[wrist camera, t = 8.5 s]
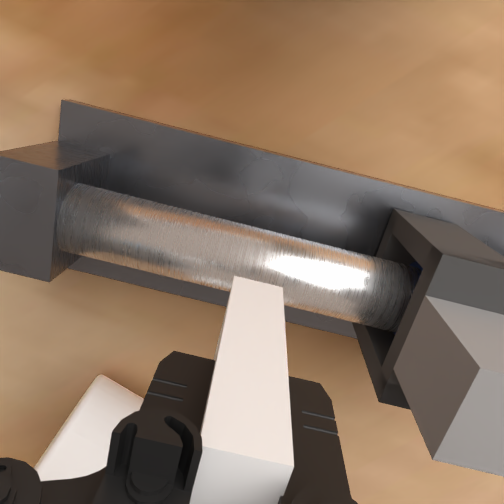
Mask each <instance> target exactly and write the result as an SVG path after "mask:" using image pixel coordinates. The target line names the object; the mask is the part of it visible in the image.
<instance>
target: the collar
mask: <svg viewBox="0 0 504 504" xmlns="http://www.w3.org/2000/svg"><path fill="white" fill-rule="evenodd" d="M376 257H377V258H381V259H385V260H389V261H393V262H397V263H401V264H405V265H410V264H411V263H413V262H418V263H419V265H420V266H421V267H422V268H423V270H422V273H421V275H420V277H419V280H418V282H417V284H416V287H415V289H414V292H413V294H412V296H411V299H410V301H409V303H408V306H407V308H406V311H405V313H404V315H403V318H402V320H401V322H400V325H399V327H398V329H397V332H396V334H395V335H394V333H393V332H392V331H388V330H383V329H379V328H375V327H371V326H367V325H363V324H359V323H355V322H352V324H353V327H354V330H355V333H356V336H357V339H358V342H359V345H360V348H361V351H362V354H363V356H364V359H365V362H366V365H367V368H368V371H369V374H370V377H371V380H372V383H373V386H374V389H375V392H376V395H377V398H378V401H379V402H381V403H385V404H389V405H393V406H398V407H402V408H406V409H410V410H411V411H412V413H413V416H414V418H415V420H416V423H417V425H418V427H419V430H420V432H421V434H422V437H423V439H424V441H425V443H426V446H427V448H428V450H429V453H430V455H431V457H432V460H436V461H440V462H444V463H448V464H453V465H457V466H461V467H465V468H470V469H474V470H478V471H482V472H486V473H491V474H495V475H499V476H503V477H504V257H503V256H502V255H500V254H499V253H497V252H496V251H494V250H493V249H492V248H490V247H489V246H487V245H486V244H484V243H483V242H481V241H480V240H479V239H477V238H476V237H474V236H473V235H471V234H470V233H468V232H467V231H466V230H464V229H463V228H461V227H460V226H458V225H457V224H453V223H449V222H445V221H441V220H437V219H433V218H429V217H425V216H421V215H417V214H413V213H409V212H406V211H402V210H398V209H393V212H392V214H391V217H390V220H389V222H388V225H387V228H386V230H385V233H384V236H383V238H382V241H381V244H380V246H379V249H378V252H377V254H376Z"/></svg>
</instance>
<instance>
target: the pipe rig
mask: <svg viewBox="0 0 504 504" xmlns="http://www.w3.org/2000/svg"><path fill="white" fill-rule="evenodd" d="M393 209H398V210H402V211H406V212H409V213H413V214H417V215H421V216H425V217H429V218H433V219H437V220H441V221H445V222H449V223H453V224H457V225H458V226H460V227H461V228H463V229H464V230H466V231H467V232H468V233H470V234H471V235H473V236H474V237H476V238H477V239H479V240H480V241H481V242H483V243H484V244H486V245H487V246H489V247H490V248H492V249H493V250H494V251H496V252H497V253H499V254H500V255H502V256H503V257H504V211H503V210H499V209H495V208H491V207H487V206H483V205H479V204H475V203H471V202H467V201H464V200H460V199H456V198H452V197H448V196H444V195H440V194H436V193H432V192H428V191H425V190H421V189H417V188H413V187H409V186H405V185H401V184H397V183H393V182H389V181H385V180H382V179H378V178H374V177H370V176H366V175H362V174H358V173H354V172H350V171H346V170H342V169H339V168H335V167H331V166H327V165H323V164H319V163H315V162H311V161H307V160H303V159H300V158H296V157H292V156H288V155H284V154H280V153H276V152H272V151H268V150H264V149H260V148H257V147H253V146H249V145H245V144H241V143H237V142H233V141H229V140H225V139H221V138H217V137H214V136H210V135H206V134H202V133H198V132H194V131H190V130H186V129H182V128H178V127H175V126H171V125H167V124H163V123H159V122H155V121H151V120H147V119H143V118H139V117H135V116H132V115H128V114H124V113H120V112H116V111H112V110H108V109H104V108H100V107H96V106H92V105H89V104H85V103H81V102H77V101H73V100H61V113H60V126H59V139H58V141H54V142H49V143H43V144H38V145H32V146H27V147H22V148H16V149H11V150H5V151H0V270H1V271H5V272H9V273H14V274H18V275H22V276H26V277H30V278H34V279H38V280H42V281H47V282H51V281H52V280H53V279H54V278H56V277H57V276H58V275H59V274H61V273H62V272H63V271H64V270H66V269H67V268H69V269H73V270H78V271H82V272H86V273H90V274H94V275H98V276H102V277H106V278H110V279H114V280H119V281H123V282H127V283H131V284H135V285H139V286H143V287H147V288H151V289H155V290H159V291H164V292H168V293H172V294H176V295H180V296H184V297H188V298H192V299H196V300H200V301H205V302H209V303H213V304H217V305H221V306H225V307H227V303H228V299H229V295H230V291H231V287H232V283H233V279H234V276H238V277H242V278H246V279H250V280H254V281H258V282H262V283H267V284H271V285H275V286H279V287H283V300H284V316H285V321H287V322H291V323H295V324H299V325H303V326H307V327H311V328H315V329H319V330H323V331H327V332H332V333H336V334H340V335H344V336H348V337H352V338H356V339H357V336H356V333H355V330H354V327H353V324H352V322H355V323H359V324H363V325H367V326H371V327H375V328H379V329H383V330H388V331H392V332H393V333H394V335H395V334H396V332H397V329H398V327H399V325H400V322H401V320H402V318H403V315H404V313H405V311H406V308H407V306H408V303H409V301H410V299H411V296H412V294H413V292H414V289H415V287H416V284H417V282H418V280H419V277H420V275H421V273H422V270H423V268H422V267H421V266H420V265H419V263H418V262H413V263H411V264H410V265H405V264H401V263H397V262H393V261H389V260H385V259H381V258H377V257H376V254H377V252H378V249H379V246H380V244H381V241H382V238H383V236H384V233H385V230H386V228H387V225H388V222H389V220H390V217H391V214H392V212H393Z"/></svg>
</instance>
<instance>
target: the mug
mask: <svg viewBox="0 0 504 504" xmlns="http://www.w3.org/2000/svg"><path fill="white" fill-rule="evenodd" d="M143 400H144V399H143V398H142V397H140V396H138V395H137V394H135V393H133V392H132V391H130V390H128V389H127V388H125V387H123V386H121V385H120V384H118V383H116V382H115V381H113V380H111V379H110V378H108V377H106V376H105V375H98V376H97V377H96V378H95V379H94V381H93V382H92V383H91V385H90V386H89V388H88V389H87V390H86V392H85V393H84V395H83V396H82V398H81V399H80V400H79V402H78V403H77V405H76V406H75V408H74V409H73V411H72V412H71V414H70V415H69V416H68V418H67V419H66V421H65V422H64V424H63V425H62V427H61V428H60V430H59V431H58V433H57V434H56V436H55V437H54V438H53V440H52V441H51V443H50V444H49V446H48V447H47V449H46V450H45V452H44V453H43V455H42V456H41V458H40V459H39V461H38V462H37V464H36V465H35V467H34V468H33V469H35V470H36V471H37V472H38V475H39V478H40V480H41V481H49V480H61V479H72V478H78V477H83V476H87V475H90V474H92V473H95V472H97V471H99V470H101V469H103V468H104V467H106V465H107V459H108V453H109V446H110V440H111V434H112V431H113V429H114V428H115V427H116V426H117V424H118V423H119V422H120V421H121V419H123V418H125V417H127V416H128V415H130V414H132V413H134V412H135V411H139V410H140V407H141V405H142V403H143Z"/></svg>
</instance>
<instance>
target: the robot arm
mask: <svg viewBox="0 0 504 504" xmlns="http://www.w3.org/2000/svg"><path fill="white" fill-rule="evenodd" d="M334 419H335V416H334V411H333V406H332V401H331V399H330V397H329V396H328V394H327V393H326V392H325V390H324V389H323V387H322V386H321V384H320V383H316V382H312V381H308V380H303V379H299V378H295V377H290V376H288V363H287V347H286V331H285V316H284V300H283V287H279V286H275V285H271V284H267V283H262V282H258V281H254V280H250V279H246V278H242V277H238V276H234V279H233V283H232V287H231V291H230V295H229V299H228V303H227V307H226V311H225V315H224V319H223V323H222V327H221V331H220V335H219V339H218V343H217V347H216V351H215V355H214V360H211V359H207V358H202V357H198V356H194V355H189V354H185V353H181V352H177V351H173V352H172V353H171V354H170V355H168V356H167V357H166V358H164V359H163V360H162V361H160V363H159V365H158V368H157V370H156V372H155V375H154V377H153V380H152V382H151V384H150V386H149V389H148V391H147V394H146V396H145V398H144V400H143V403H142V405H141V407H140V410H139V411H135V412H134V413H132V414H130V415H128V416H127V417H125V418H123V419H121V421H120V422H119V423H118V424H117V426H116V427H115V428H114V429H113V431H112V434H111V440H110V446H109V453H108V459H107V465H106V467H104V468H103V469H101V470H99V471H97V472H95V473H92V474H90V475H87V476H83V477H78V478H72V479H61V480H49V481H41V480H40V478H39V475H38V472H37V471H36V470H35V469H33V468H32V467H31V466H30V465H28V464H27V463H26V462H24V461H20V460H16V459H12V458H0V504H358V503H357V502H356V501H354V500H353V499H352V498H351V495H350V490H349V485H348V480H347V475H346V470H345V465H344V460H343V455H342V450H341V445H340V440H339V436H337V434H338V430H337V425H336V421H334Z"/></svg>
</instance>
